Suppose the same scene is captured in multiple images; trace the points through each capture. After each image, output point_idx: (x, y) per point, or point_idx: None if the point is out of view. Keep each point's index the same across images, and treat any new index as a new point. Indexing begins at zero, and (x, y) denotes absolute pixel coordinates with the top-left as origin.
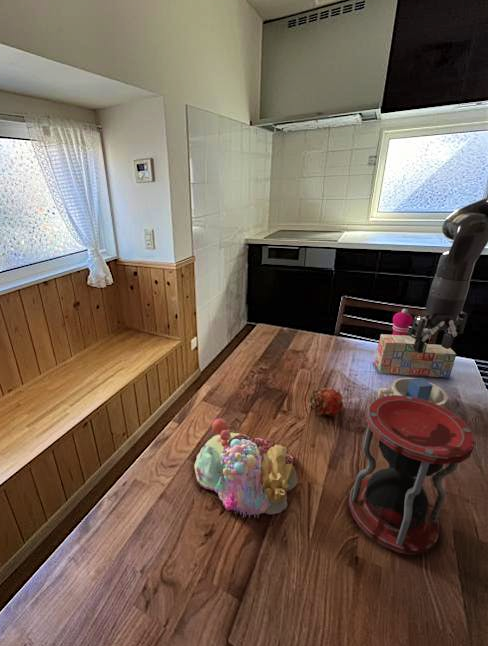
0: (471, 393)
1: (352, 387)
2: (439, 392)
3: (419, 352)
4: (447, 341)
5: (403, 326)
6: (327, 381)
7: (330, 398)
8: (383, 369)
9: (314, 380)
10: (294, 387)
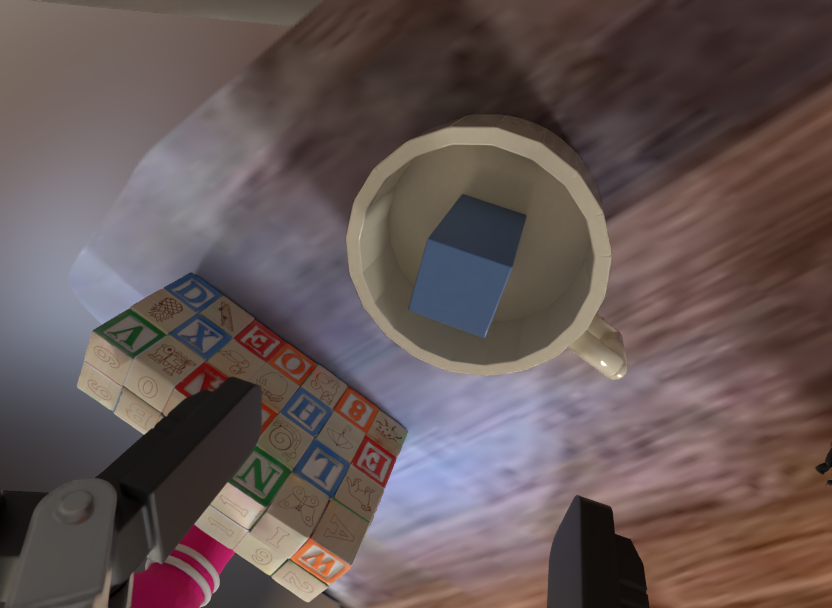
0: (190, 165)
1: (605, 440)
2: (370, 209)
3: (608, 514)
4: (207, 458)
5: (179, 585)
6: (661, 515)
7: None
8: (392, 435)
9: (705, 547)
10: None
